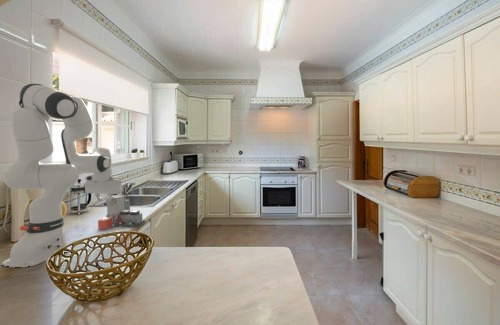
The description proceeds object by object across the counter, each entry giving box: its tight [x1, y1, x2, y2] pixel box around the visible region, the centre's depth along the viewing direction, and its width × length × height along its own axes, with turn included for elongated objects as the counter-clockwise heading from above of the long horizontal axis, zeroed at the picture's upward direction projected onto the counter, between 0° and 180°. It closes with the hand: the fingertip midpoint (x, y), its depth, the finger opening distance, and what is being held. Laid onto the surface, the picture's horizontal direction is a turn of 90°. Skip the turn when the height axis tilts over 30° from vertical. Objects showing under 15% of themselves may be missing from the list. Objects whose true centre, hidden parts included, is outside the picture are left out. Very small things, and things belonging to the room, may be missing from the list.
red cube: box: [97, 217, 113, 230], centre depth 144 cm, size 5×5×5 cm
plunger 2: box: [129, 209, 141, 215], centre depth 151 cm, size 4×4×6 cm
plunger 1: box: [120, 209, 131, 215], centre depth 151 cm, size 4×4×6 cm
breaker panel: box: [113, 212, 146, 228], centre depth 151 cm, size 12×12×6 cm
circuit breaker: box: [105, 194, 131, 224], centre depth 160 cm, size 8×14×15 cm, turn 174°
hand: (104, 201), depth 143 cm, fingers open, 4 cm apart
